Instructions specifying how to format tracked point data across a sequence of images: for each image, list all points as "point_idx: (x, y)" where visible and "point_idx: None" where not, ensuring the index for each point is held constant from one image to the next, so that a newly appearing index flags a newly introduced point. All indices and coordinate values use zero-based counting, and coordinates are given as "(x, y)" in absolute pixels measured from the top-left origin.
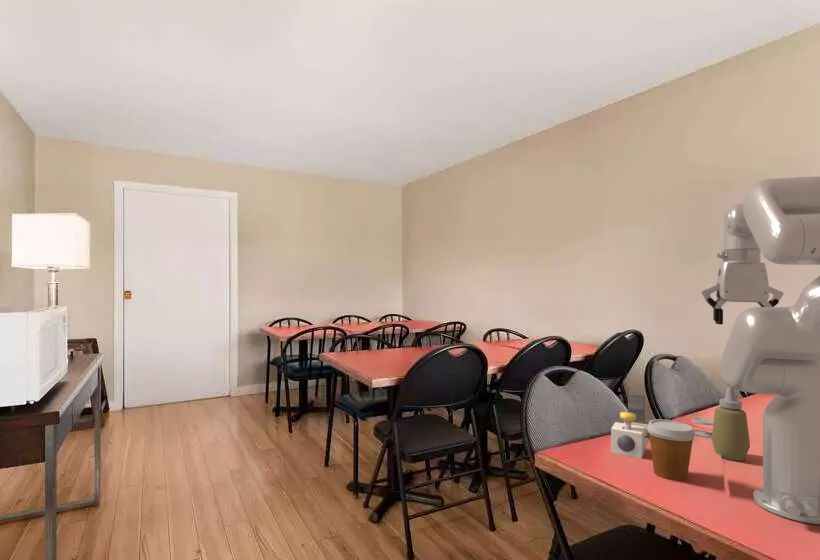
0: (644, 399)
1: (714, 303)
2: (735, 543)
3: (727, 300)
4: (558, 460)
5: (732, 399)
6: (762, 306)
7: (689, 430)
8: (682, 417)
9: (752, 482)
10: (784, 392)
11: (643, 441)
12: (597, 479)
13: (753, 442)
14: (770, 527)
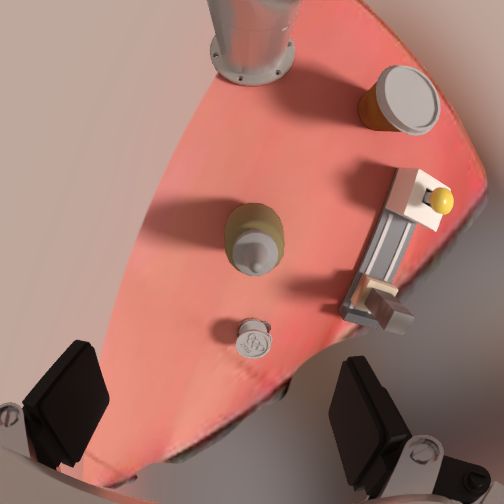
0: (382, 320)
1: (441, 473)
2: None
3: (413, 495)
4: (476, 156)
5: (255, 244)
6: (50, 466)
7: (393, 69)
8: (252, 402)
9: (266, 120)
10: None
11: (400, 192)
12: (447, 102)
13: (185, 313)
14: (302, 10)
